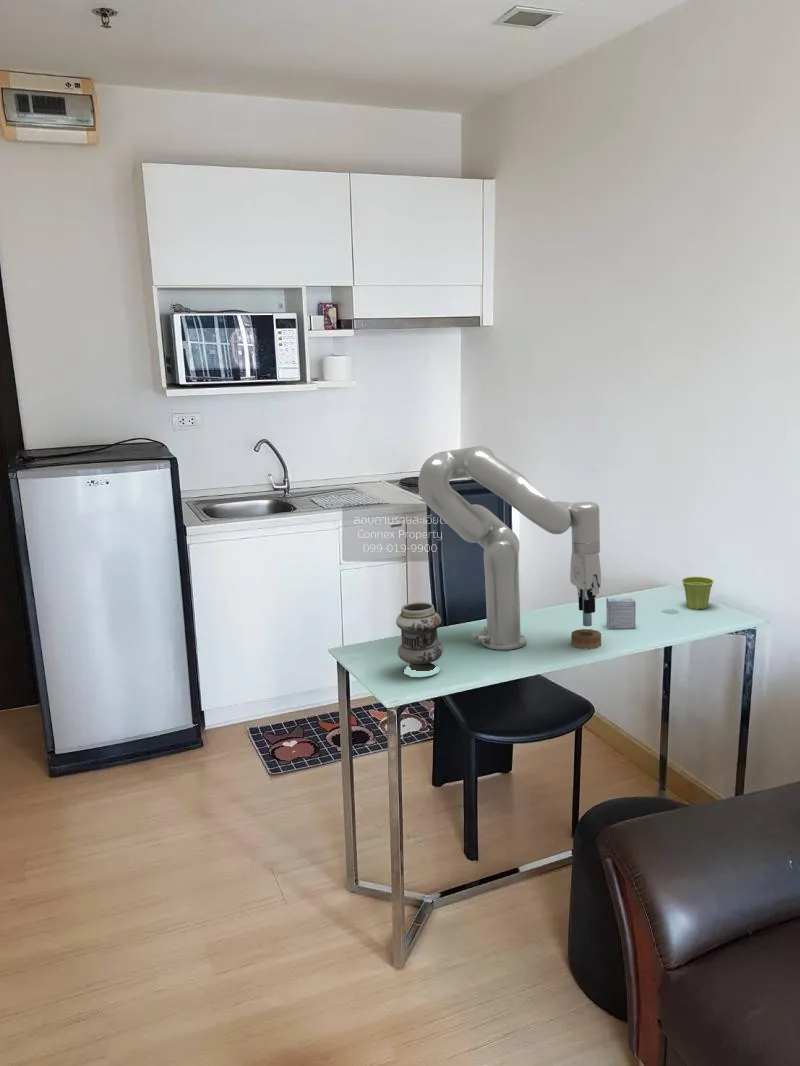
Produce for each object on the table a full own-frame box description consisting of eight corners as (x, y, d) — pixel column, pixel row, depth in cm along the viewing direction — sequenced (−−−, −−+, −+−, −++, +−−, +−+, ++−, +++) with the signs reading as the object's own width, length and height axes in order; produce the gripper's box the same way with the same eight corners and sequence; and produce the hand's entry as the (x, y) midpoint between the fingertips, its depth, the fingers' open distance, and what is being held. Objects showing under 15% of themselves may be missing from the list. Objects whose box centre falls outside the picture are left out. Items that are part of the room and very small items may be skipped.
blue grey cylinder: (585, 626, 226) (584, 585, 223) (581, 624, 228) (580, 583, 226) (593, 625, 226) (592, 584, 224) (589, 623, 229) (588, 582, 226)
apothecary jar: (418, 659, 223) (414, 597, 220) (453, 668, 216) (450, 603, 212) (389, 673, 214) (385, 608, 211) (424, 683, 207) (421, 615, 203)
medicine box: (633, 624, 243) (633, 596, 241) (635, 629, 239) (635, 600, 237) (606, 624, 244) (606, 597, 242) (608, 629, 239) (608, 601, 238)
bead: (579, 650, 224) (579, 640, 223) (566, 641, 231) (566, 631, 231) (606, 646, 226) (606, 636, 225) (592, 637, 233) (592, 627, 233)
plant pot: (703, 613, 249) (704, 586, 248) (675, 607, 256) (676, 581, 254) (718, 606, 255) (719, 579, 254) (690, 601, 262) (691, 575, 261)
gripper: (560, 543, 230) (562, 605, 233) (586, 554, 214) (588, 621, 218) (584, 540, 231) (586, 602, 235) (612, 551, 216) (613, 617, 220)
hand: (586, 610), depth 226 cm, fingers closed on blue grey cylinder, 2 cm apart
